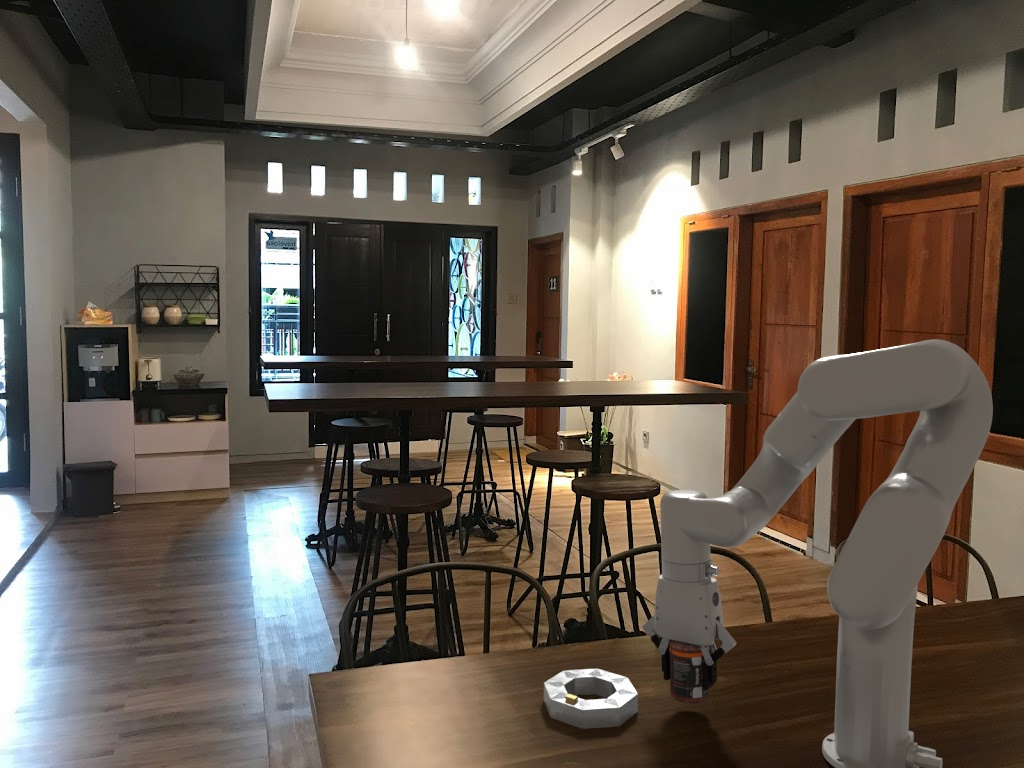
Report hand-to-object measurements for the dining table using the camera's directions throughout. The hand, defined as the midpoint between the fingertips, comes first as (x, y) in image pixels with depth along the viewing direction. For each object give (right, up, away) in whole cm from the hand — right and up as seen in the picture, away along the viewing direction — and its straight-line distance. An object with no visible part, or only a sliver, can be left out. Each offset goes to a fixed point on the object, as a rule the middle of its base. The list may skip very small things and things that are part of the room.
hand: (689, 680), depth 132 cm
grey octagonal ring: (-15, -5, +2) cm, 16 cm away
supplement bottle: (0, -3, 0) cm, 3 cm away
